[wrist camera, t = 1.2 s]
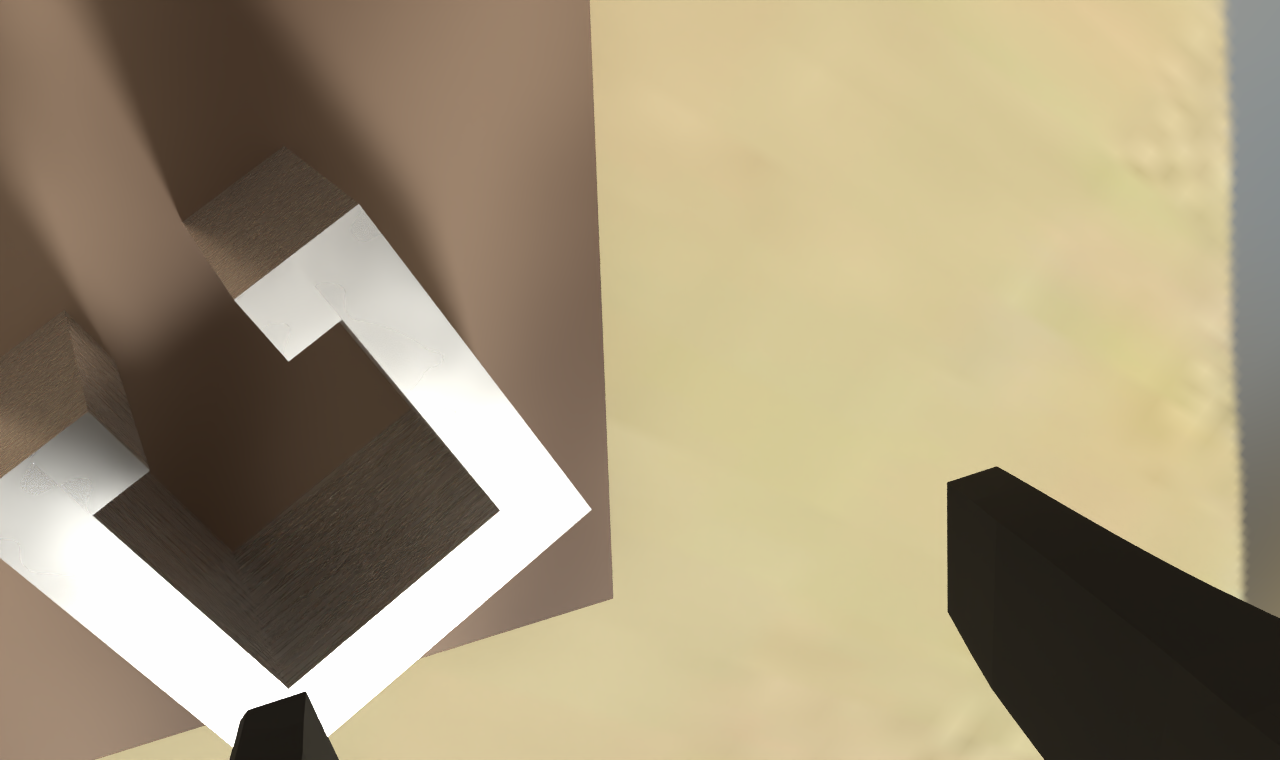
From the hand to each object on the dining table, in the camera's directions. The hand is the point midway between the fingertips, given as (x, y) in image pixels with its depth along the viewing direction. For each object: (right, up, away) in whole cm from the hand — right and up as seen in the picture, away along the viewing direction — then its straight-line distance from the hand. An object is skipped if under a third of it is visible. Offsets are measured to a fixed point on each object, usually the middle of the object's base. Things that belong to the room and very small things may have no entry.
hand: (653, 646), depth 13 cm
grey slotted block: (-6, +3, +5) cm, 8 cm away
